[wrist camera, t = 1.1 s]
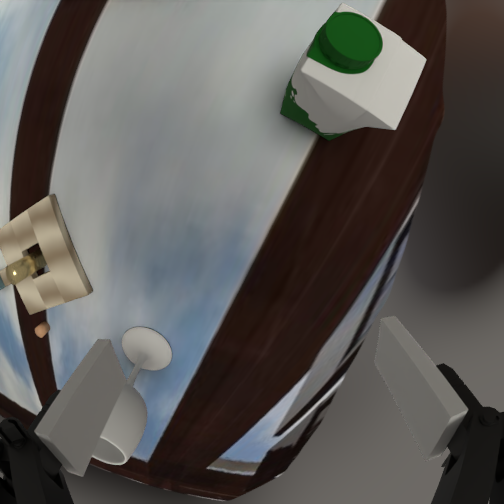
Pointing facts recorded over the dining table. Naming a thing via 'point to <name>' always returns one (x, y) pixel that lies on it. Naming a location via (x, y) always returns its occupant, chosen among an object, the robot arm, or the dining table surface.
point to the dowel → (42, 329)
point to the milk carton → (352, 77)
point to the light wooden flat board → (54, 251)
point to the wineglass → (132, 396)
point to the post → (25, 267)
